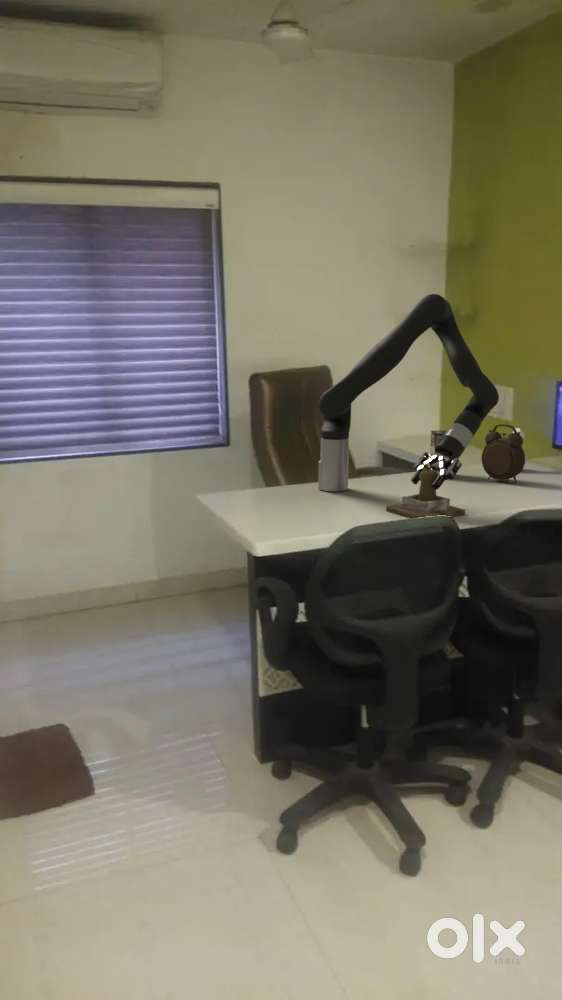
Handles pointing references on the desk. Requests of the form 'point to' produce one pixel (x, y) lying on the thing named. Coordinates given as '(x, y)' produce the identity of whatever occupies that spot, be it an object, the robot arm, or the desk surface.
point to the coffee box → (435, 442)
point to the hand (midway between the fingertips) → (423, 485)
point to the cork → (427, 486)
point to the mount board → (424, 507)
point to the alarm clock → (503, 454)
